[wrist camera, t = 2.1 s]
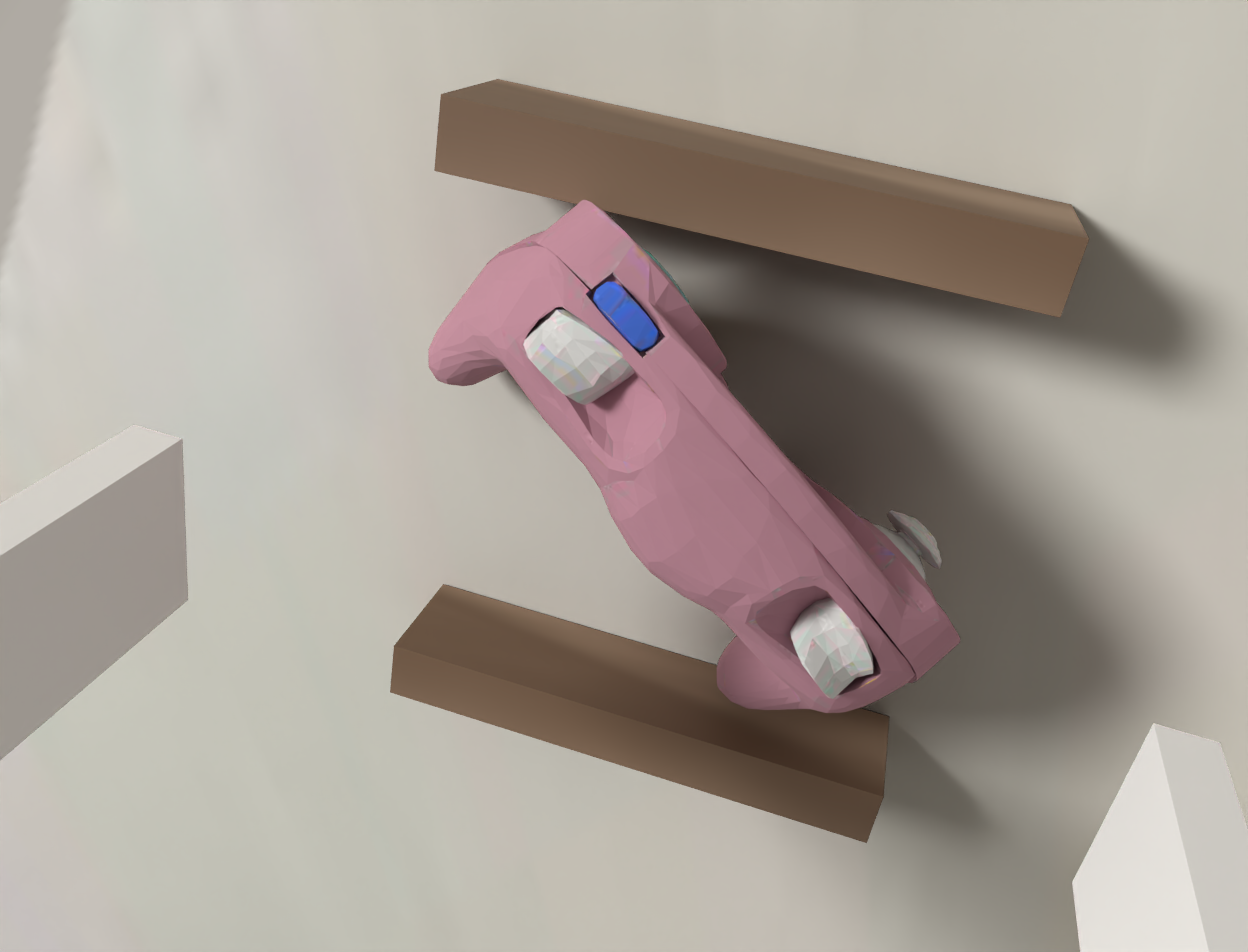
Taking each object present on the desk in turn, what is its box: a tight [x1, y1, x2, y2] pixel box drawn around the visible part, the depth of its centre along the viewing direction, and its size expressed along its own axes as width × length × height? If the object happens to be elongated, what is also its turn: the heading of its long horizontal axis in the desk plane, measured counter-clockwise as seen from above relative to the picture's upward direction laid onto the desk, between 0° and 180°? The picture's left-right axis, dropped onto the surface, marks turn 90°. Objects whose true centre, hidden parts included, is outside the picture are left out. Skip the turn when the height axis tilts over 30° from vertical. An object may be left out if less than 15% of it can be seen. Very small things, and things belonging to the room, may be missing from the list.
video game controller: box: [429, 200, 960, 713], centre depth 19 cm, size 10×5×7 cm, turn 41°
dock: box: [390, 79, 1089, 843], centre depth 20 cm, size 12×10×2 cm
